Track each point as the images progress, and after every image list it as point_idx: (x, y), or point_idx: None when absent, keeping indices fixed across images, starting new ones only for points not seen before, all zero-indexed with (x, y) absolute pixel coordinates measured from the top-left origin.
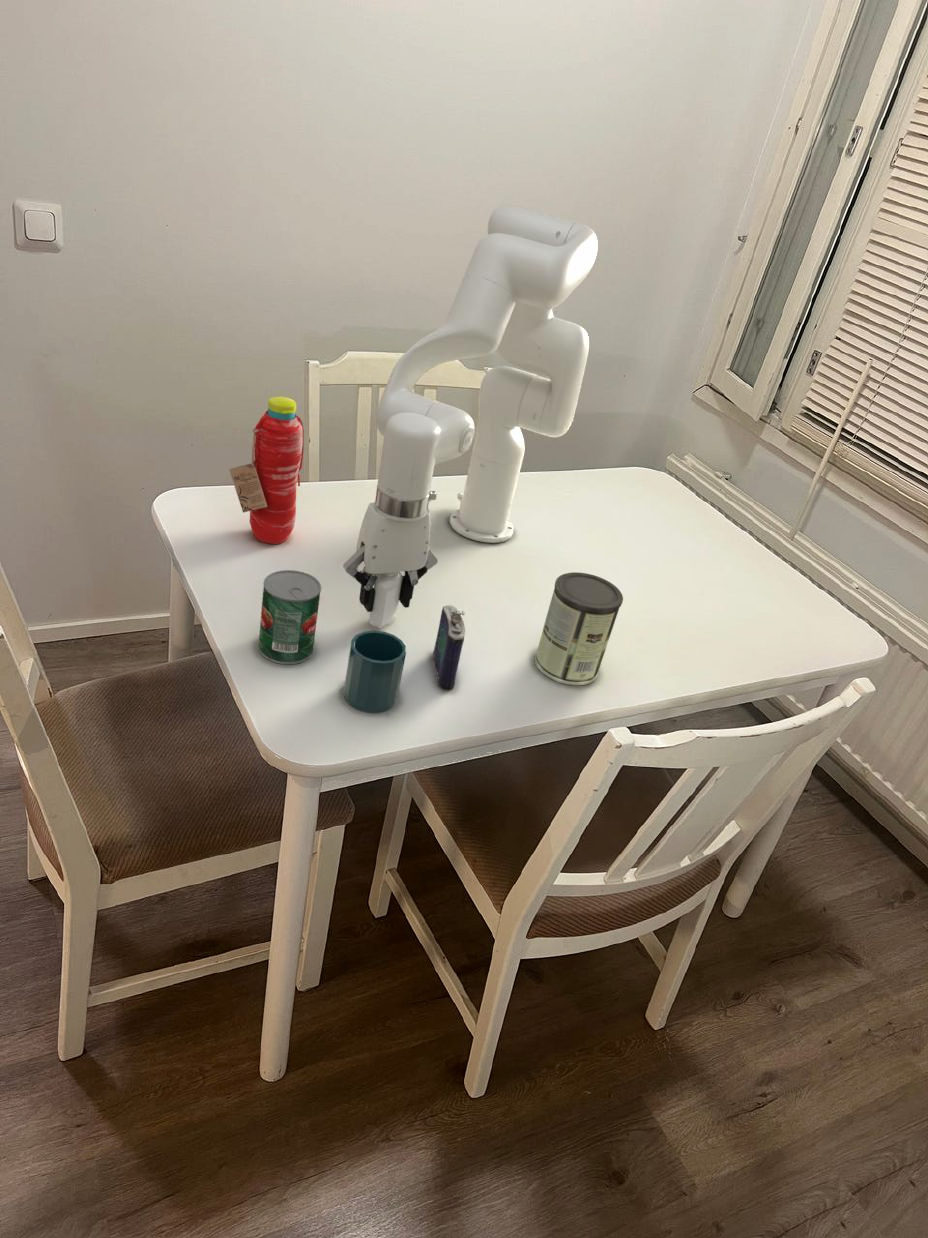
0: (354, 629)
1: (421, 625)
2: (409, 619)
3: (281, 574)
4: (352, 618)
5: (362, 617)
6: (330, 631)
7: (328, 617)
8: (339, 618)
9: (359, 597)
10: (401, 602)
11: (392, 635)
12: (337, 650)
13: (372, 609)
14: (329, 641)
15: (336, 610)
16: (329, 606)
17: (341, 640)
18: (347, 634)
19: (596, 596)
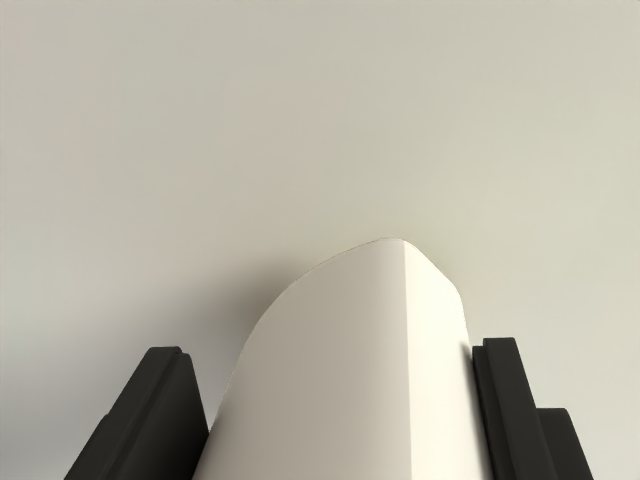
0: (169, 335)
1: (600, 351)
2: (552, 285)
3: None
4: (174, 233)
5: (241, 230)
6: (34, 334)
7: (26, 207)
8: (93, 224)
9: (101, 421)
10: None
11: None
12: (62, 468)
13: None
14: (26, 406)
15: (81, 136)
16: (36, 82)
17: (87, 408)
18: (123, 369)
19: None
